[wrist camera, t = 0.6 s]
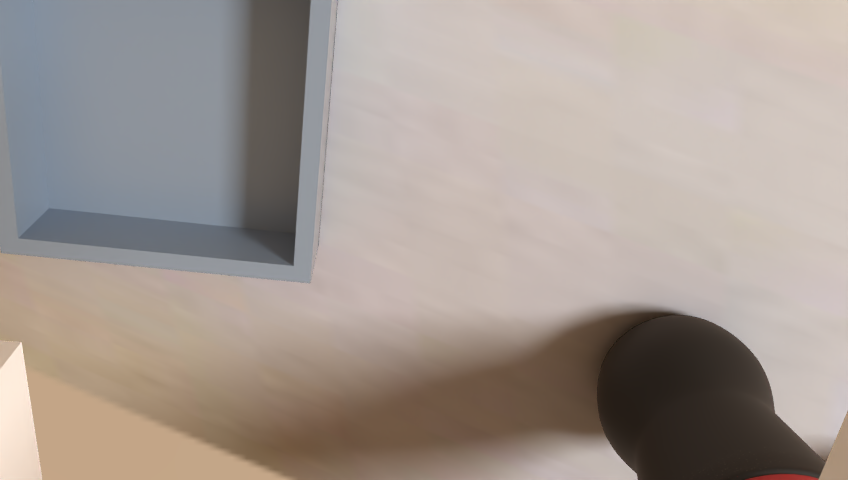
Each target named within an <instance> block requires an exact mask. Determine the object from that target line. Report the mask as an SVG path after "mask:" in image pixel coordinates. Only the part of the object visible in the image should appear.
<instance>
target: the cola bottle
mask: <svg viewBox="0 0 848 480" xmlns="http://www.w3.org/2000/svg"><path fill="white" fill-rule="evenodd" d="M597 402H598V411H599V416H600V420H601V424H602V427H603V430H604V432H605V434H606V437H607V439H608V440H609V442H610V444H611V445H612V447H613V448H614V450H615V451H616V453H617V454H618V455H619V456H620V457H621V459H622V460H623V461H624V462H625V463H626V464H627V465H628V466H629V467H630V468H631V469H632V470H634V471H635V472H636V473H637V477H638V480H819V477H820V475H821V473H822V470H823V468H824V466H825V463H826V462H825V461H824V460H823V459H822V458H821V457H820V456H819V455H817V454H816V453H815V452H814V451H813V450H812V449H811V448H810V447H809V446H808V445H807V444H806V443H805V442H804V441H803V440H802V439H801V438H800V437H799V436H798V435H797V434H796V433H795V432H794V431H793V430H792V429H791V428H790V427H789V426H788V425H787V424H786V423H784V422H783V421H782V420H781V419H780V418H779V417H778V416H777V415H776V414H775V410H774V402H773V396H772V391H771V387H770V384H769V381H768V378H767V376H766V374H765V372H764V370H763V368H762V366H761V364H760V363H759V361H758V360H757V358H756V357H755V356H754V354H753V353H752V352H751V351H750V350H749V349H748V348H747V347H746V346H745V345H744V344H743V343H742V342H741V341H740V340H739V339H737V338H736V337H735V336H734V335H732V334H731V333H729V332H728V331H726V330H725V329H723V328H722V327H720V326H718V325H716V324H714V323H712V322H709V321H707V320H704V319H701V318H697V317H692V316H684V315H673V316H664V317H659V318H655V319H652V320H649V321H646V322H644V323H642V324H640V325H638V326H636V327H634V328H632V329H631V330H629V331H628V332H627V333H625V334H624V335H623V336H622V337H621V338H620V339H619V340H618V341H617V342H616V343H615V344H614V345H613V346H612V348H611V349H610V350H609V352H608V354H607V355H606V357H605V359H604V361H603V364H602V367H601V370H600V373H599V379H598V387H597Z"/></svg>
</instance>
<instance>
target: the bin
mask: <svg viewBox="0 0 848 480" xmlns="http://www.w3.org/2000/svg"><path fill="white" fill-rule="evenodd" d="M337 5H338V0H0V250H1V253H7V254H17V255H27V256H37V257H47V258H58V259H68V260H78V261H88V262H98V263H108V264H119V265H129V266H139V267H149V268H159V269H169V270H179V271H190V272H200V273H210V274H220V275H230V276H240V277H250V278H261V279H271V280H281V281H291V282H301V283H311V278H312V273H313V269H314V264H315V259H316V255H317V250H318V246H319V233H320V220H321V208H322V195H323V182H324V170H325V157H326V144H327V132H328V119H329V106H330V94H331V81H332V68H333V56H334V43H335V30H336V18H337Z"/></svg>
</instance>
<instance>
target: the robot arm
mask: <svg viewBox="0 0 848 480" xmlns="http://www.w3.org/2000/svg"><path fill="white" fill-rule="evenodd" d="M0 480H42V474H41V468H40V461H39V454H38V448H37V441H36V434H35V428H34V422H33V415H32V408H31V402H30V395H29V389H28V383H27V376H26V369H25V363H24V356H23V349H22V343H21V342H15V341H1V340H0ZM819 480H848V412H847V414H846V416H845V419H844V421H843V423H842V426H841V428H840V430H839V433H838V435H837V438H836V440H835V442H834V445H833V447H832V449H831V452H830V454H829V456H828V459H827V461H826V463H825V466H824V468H823V470H822V473H821V475H820V477H819Z"/></svg>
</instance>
